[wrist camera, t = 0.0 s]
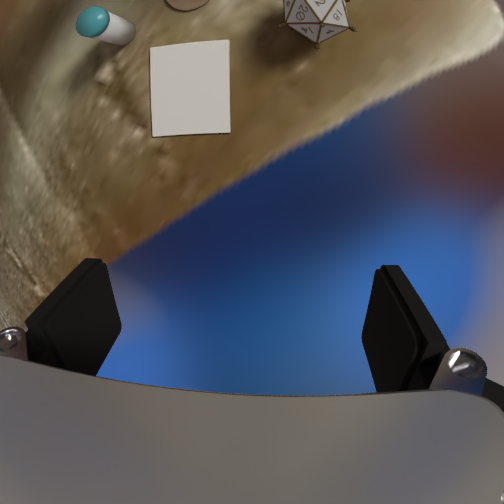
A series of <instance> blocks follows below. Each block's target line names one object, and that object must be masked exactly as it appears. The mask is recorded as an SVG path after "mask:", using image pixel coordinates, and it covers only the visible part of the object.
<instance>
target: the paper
mask: <svg viewBox="0 0 504 504" xmlns="http://www.w3.org/2000/svg"><path fill="white" fill-rule="evenodd" d="M150 77H151V111H152V132H153V137H155V136H168V135H183V134H203V133H230V67H229V40H216V41H203V42H193V43H183V44H175V45H167V46H160V47H154V48H150Z"/></svg>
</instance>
